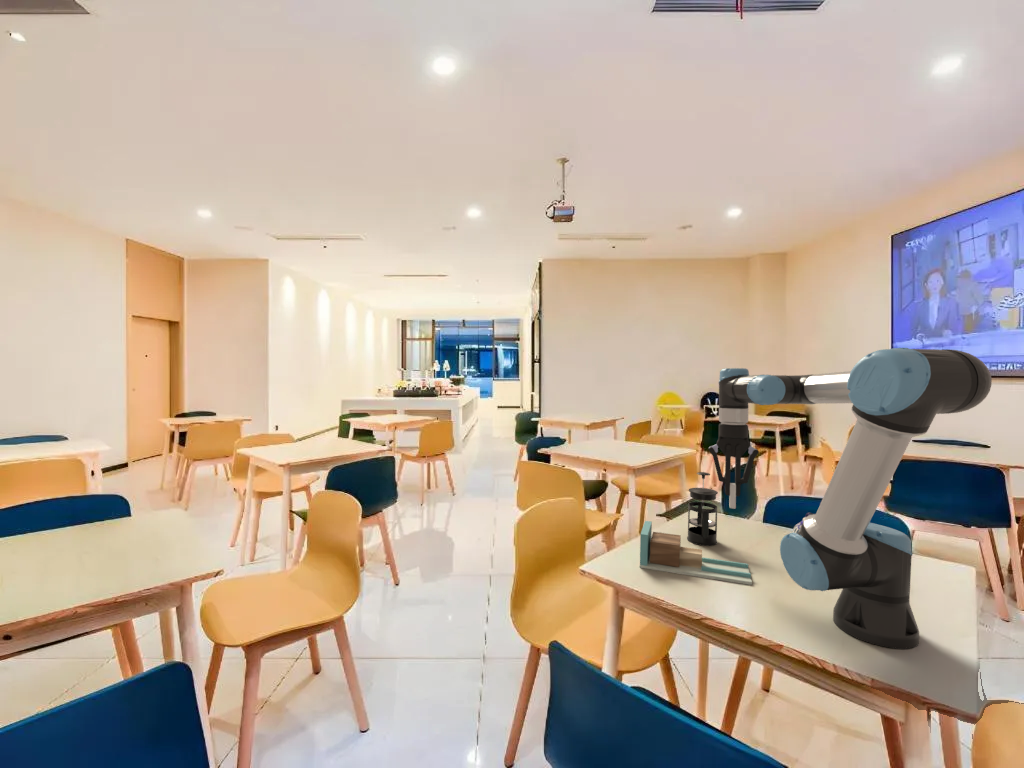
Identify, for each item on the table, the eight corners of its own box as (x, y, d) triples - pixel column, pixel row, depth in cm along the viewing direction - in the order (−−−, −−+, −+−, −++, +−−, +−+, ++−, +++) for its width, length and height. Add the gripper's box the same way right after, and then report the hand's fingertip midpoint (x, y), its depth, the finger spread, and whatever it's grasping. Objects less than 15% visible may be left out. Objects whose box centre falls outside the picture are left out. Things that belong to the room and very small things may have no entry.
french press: (685, 534, 166) (686, 468, 165) (713, 536, 164) (715, 470, 163) (689, 546, 154) (691, 476, 154) (720, 549, 152) (722, 477, 152)
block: (679, 567, 135) (679, 545, 135) (650, 562, 138) (650, 541, 138) (680, 555, 144) (680, 535, 144) (652, 551, 147) (653, 531, 146)
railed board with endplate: (751, 585, 127) (752, 548, 127) (639, 567, 137) (640, 534, 137) (747, 566, 139) (747, 533, 139) (644, 551, 149) (645, 520, 149)
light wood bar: (701, 568, 135) (702, 554, 135) (657, 561, 140) (658, 548, 140) (701, 563, 139) (702, 549, 139) (658, 556, 143) (659, 543, 143)
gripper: (757, 423, 135) (756, 506, 135) (707, 421, 139) (707, 501, 139) (761, 425, 128) (760, 513, 128) (708, 423, 132) (707, 508, 132)
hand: (732, 507), depth 134 cm, fingers closed
